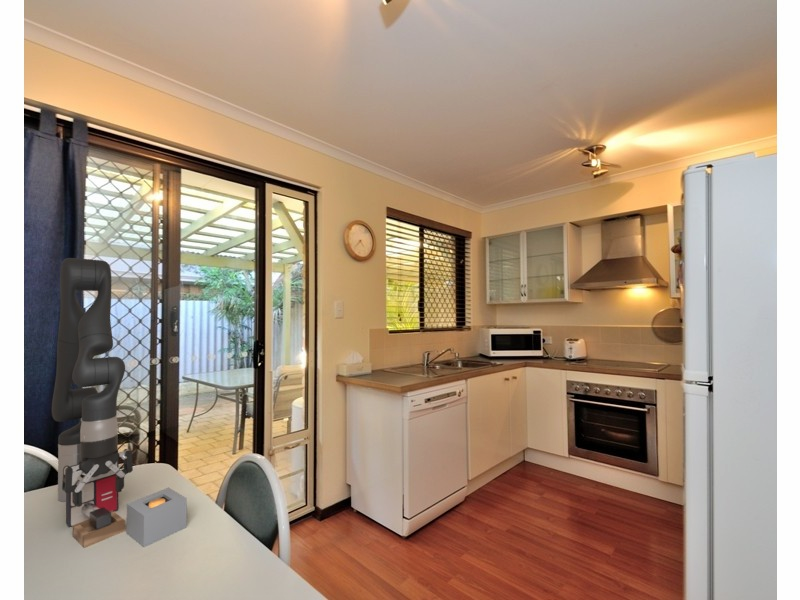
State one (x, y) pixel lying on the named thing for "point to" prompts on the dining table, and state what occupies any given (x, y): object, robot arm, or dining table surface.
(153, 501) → the button
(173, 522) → the guard box
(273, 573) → the dining table surface
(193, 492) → the dining table surface
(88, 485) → the calculator
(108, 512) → the stylus
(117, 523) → the wooden square frame
